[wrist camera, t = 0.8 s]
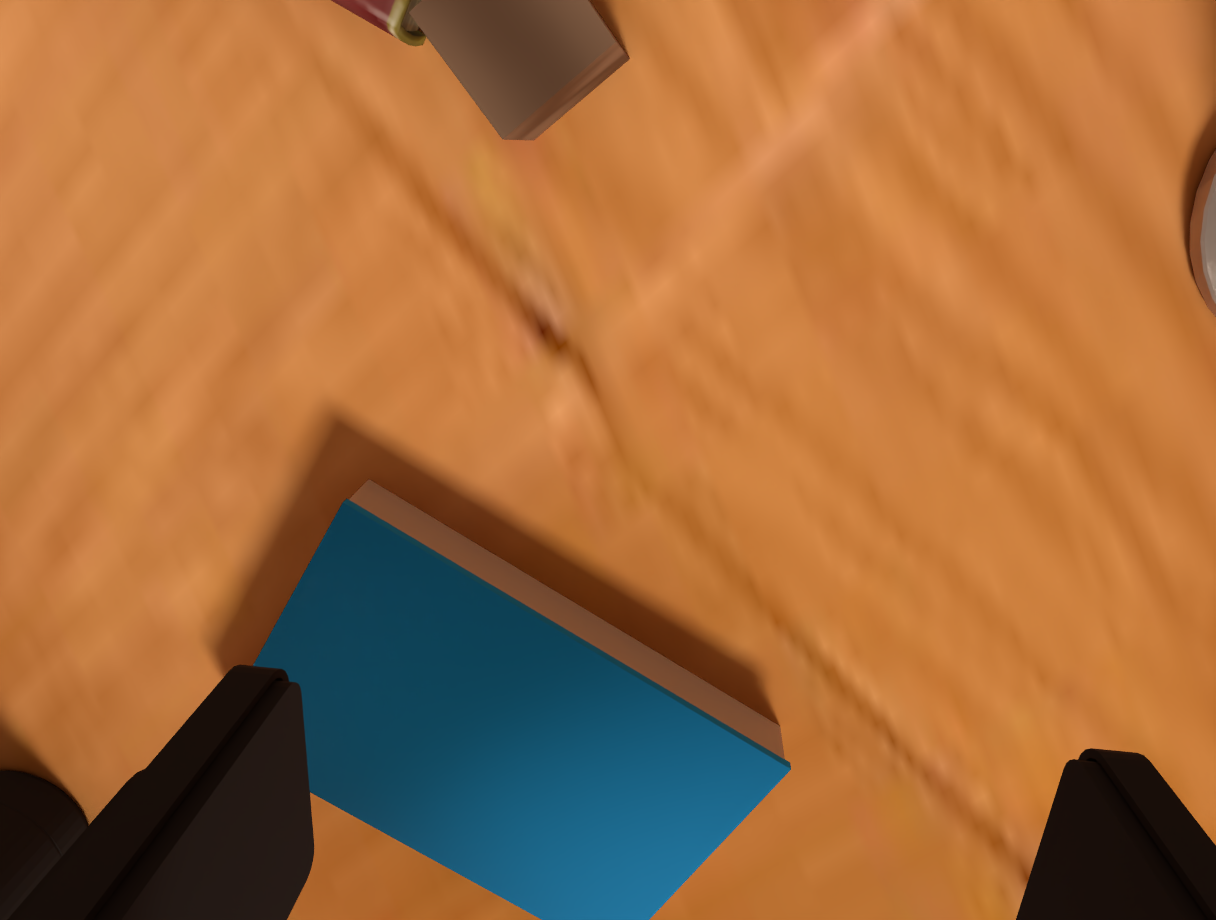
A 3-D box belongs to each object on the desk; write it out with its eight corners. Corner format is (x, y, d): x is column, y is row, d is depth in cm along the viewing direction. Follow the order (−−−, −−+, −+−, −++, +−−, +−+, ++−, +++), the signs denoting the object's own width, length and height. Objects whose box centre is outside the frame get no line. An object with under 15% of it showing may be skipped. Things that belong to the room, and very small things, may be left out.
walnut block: (552, -55, 32) (522, -97, 26) (630, 59, 33) (616, 41, 28) (456, 34, 34) (409, 12, 28) (534, 140, 35) (502, 139, 29)
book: (338, 499, 38) (795, 770, 40) (374, 466, 42) (787, 713, 44) (206, 748, 44) (609, 971, 46) (248, 698, 48) (617, 905, 50)
